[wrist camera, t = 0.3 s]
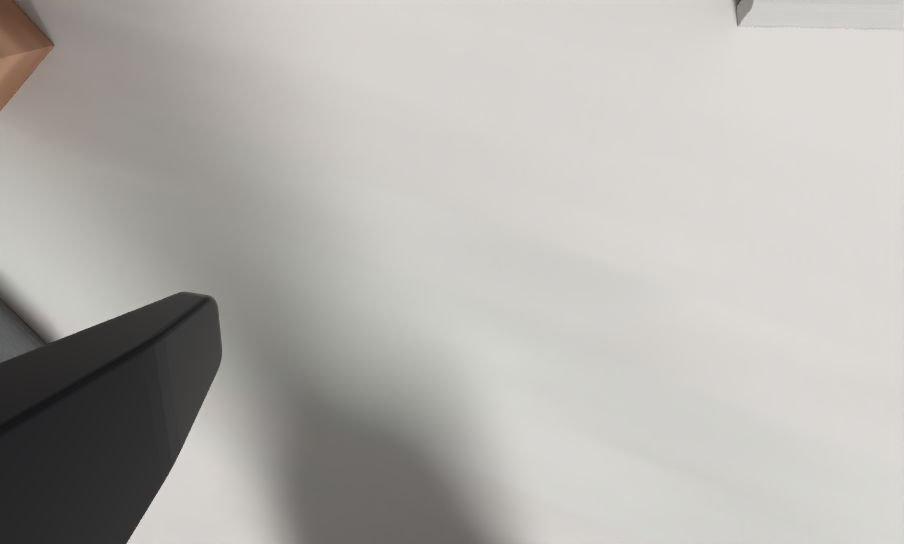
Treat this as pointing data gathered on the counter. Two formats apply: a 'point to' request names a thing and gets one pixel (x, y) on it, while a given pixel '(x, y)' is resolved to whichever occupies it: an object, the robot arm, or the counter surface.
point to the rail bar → (15, 335)
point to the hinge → (822, 14)
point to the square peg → (18, 49)
